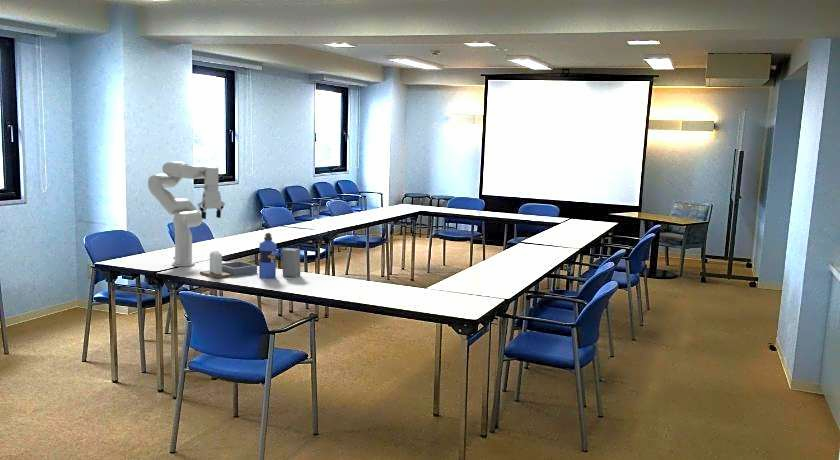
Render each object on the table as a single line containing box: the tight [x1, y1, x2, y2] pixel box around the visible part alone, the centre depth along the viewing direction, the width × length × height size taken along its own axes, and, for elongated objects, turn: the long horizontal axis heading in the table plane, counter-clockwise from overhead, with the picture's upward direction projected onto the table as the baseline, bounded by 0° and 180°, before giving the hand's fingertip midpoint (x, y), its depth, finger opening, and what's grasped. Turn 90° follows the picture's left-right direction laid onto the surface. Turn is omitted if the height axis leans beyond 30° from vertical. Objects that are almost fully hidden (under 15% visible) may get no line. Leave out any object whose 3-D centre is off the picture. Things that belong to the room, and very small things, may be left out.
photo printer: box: [209, 250, 223, 274], centre depth 391 cm, size 10×4×12 cm, turn 37°
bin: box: [222, 260, 258, 277], centre depth 402 cm, size 16×16×4 cm
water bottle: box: [258, 232, 277, 279], centre depth 393 cm, size 9×9×25 cm
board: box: [199, 269, 233, 280], centre depth 391 cm, size 16×10×2 cm, turn 50°
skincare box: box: [281, 247, 301, 278], centre depth 399 cm, size 8×7×16 cm
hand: (211, 218), depth 401 cm, fingers open, 9 cm apart
